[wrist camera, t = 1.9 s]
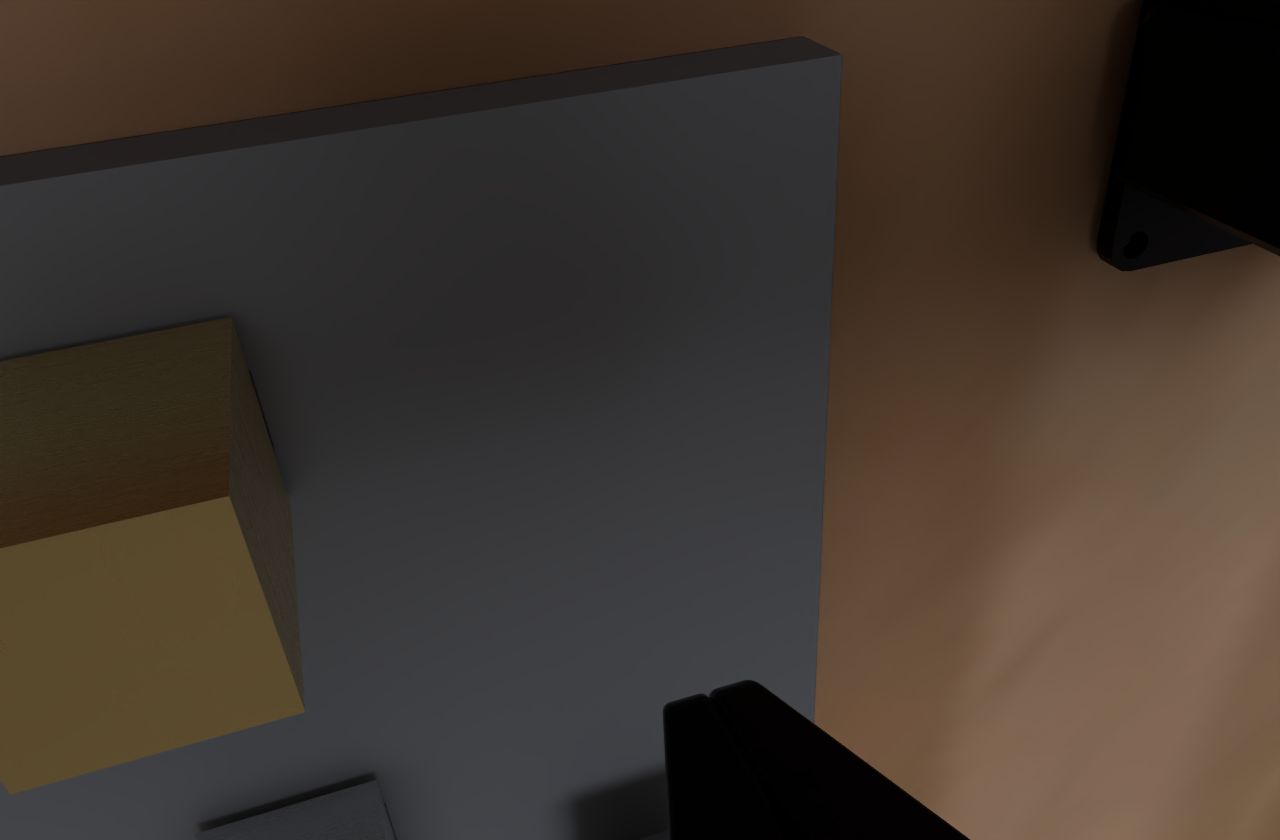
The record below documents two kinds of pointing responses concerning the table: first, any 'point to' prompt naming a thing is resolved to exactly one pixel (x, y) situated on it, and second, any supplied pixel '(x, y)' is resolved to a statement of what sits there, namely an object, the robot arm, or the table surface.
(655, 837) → the dark grey small block
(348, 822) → the steel slider
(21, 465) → the brass slider
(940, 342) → the table surface
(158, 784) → the panel
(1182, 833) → the table surface
